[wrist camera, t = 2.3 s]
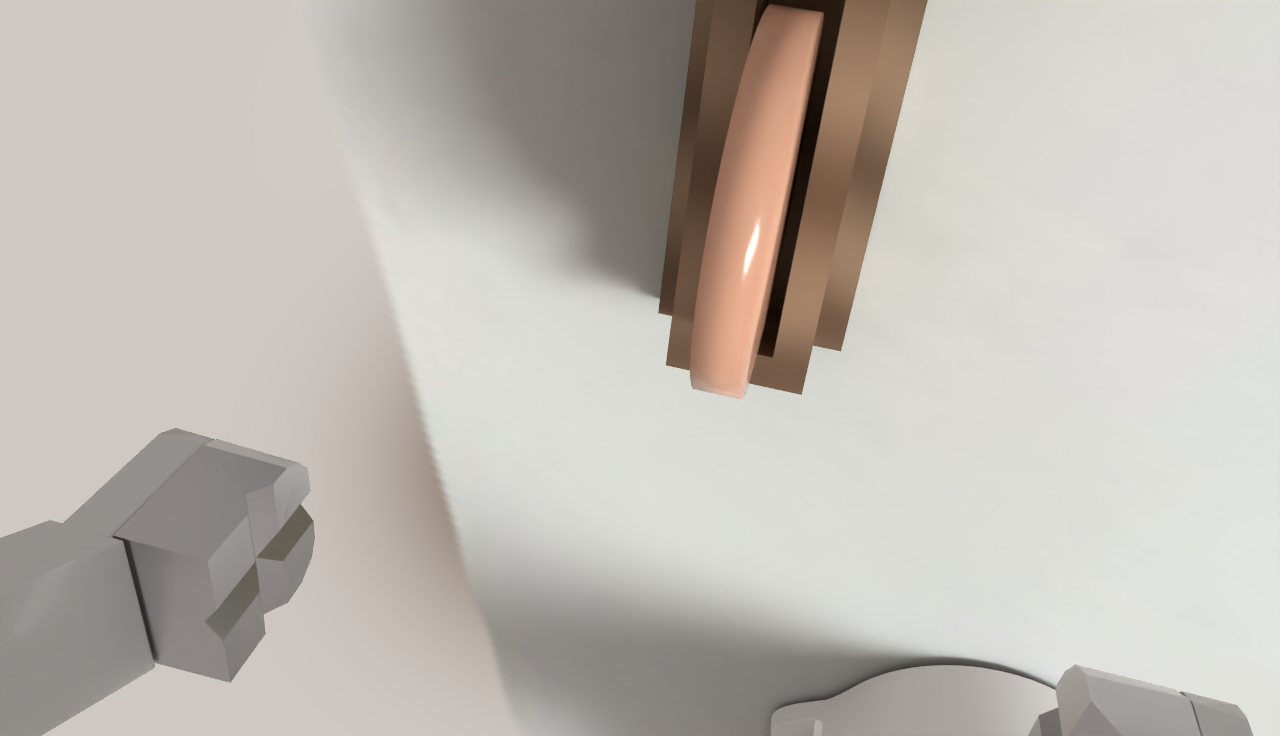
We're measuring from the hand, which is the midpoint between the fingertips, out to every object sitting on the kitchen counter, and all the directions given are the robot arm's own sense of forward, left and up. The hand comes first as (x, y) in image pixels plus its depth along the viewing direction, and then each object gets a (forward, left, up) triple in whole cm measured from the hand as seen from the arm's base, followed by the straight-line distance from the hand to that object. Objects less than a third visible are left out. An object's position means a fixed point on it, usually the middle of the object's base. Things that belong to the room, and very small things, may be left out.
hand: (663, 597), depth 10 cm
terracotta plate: (-3, +1, -19) cm, 19 cm away
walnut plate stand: (-3, +1, -25) cm, 26 cm away
